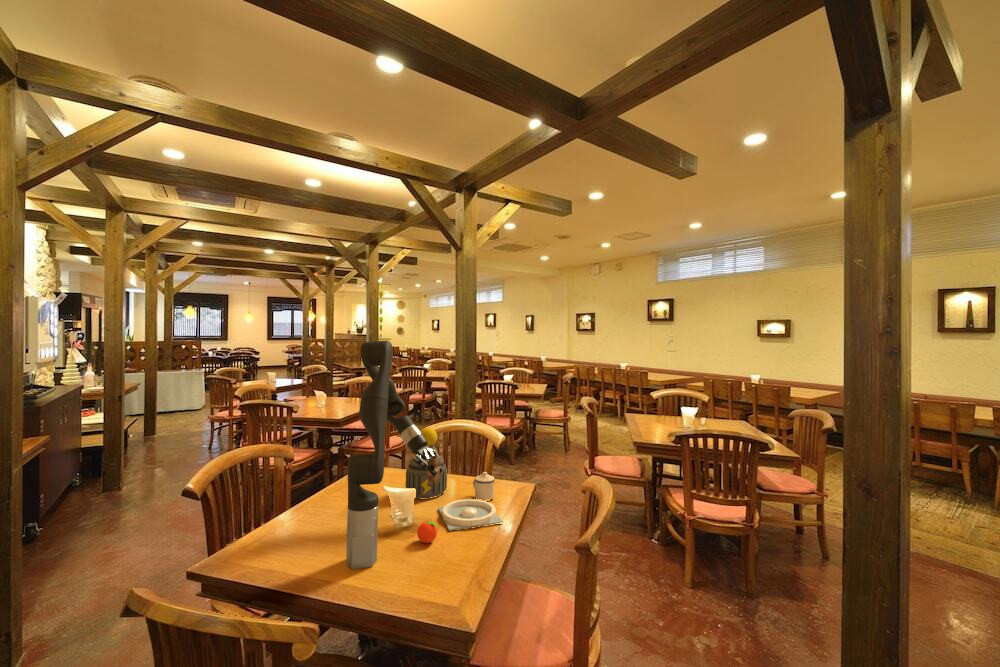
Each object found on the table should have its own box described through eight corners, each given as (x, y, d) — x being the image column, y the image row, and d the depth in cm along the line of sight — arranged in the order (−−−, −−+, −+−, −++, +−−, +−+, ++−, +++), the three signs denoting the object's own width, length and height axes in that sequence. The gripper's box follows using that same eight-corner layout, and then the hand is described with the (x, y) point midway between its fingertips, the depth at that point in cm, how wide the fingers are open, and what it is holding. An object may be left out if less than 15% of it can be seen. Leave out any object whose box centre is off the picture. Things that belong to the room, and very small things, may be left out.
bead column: (439, 482, 160) (440, 454, 161) (435, 484, 157) (435, 456, 158) (432, 480, 162) (433, 453, 162) (427, 483, 159) (428, 455, 159)
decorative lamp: (406, 486, 194) (407, 424, 195) (445, 484, 198) (446, 423, 199) (404, 501, 176) (406, 432, 177) (447, 499, 179) (448, 431, 180)
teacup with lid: (498, 498, 180) (499, 472, 181) (483, 504, 174) (484, 476, 174) (480, 491, 189) (481, 466, 189) (465, 496, 182) (466, 470, 183)
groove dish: (502, 524, 154) (502, 516, 154) (449, 531, 147) (449, 523, 147) (486, 503, 174) (486, 496, 174) (438, 509, 167) (438, 502, 167)
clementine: (443, 539, 142) (443, 518, 142) (434, 548, 135) (435, 527, 135) (422, 536, 144) (422, 516, 144) (413, 545, 137) (413, 524, 137)
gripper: (408, 436, 157) (434, 472, 151) (429, 430, 170) (453, 463, 164) (397, 448, 159) (422, 484, 153) (418, 441, 172) (442, 474, 166)
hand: (438, 473), depth 159 cm, fingers closed on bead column, 3 cm apart
